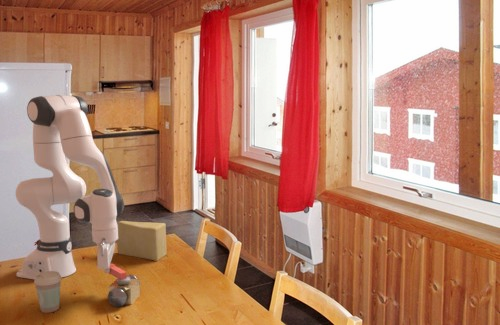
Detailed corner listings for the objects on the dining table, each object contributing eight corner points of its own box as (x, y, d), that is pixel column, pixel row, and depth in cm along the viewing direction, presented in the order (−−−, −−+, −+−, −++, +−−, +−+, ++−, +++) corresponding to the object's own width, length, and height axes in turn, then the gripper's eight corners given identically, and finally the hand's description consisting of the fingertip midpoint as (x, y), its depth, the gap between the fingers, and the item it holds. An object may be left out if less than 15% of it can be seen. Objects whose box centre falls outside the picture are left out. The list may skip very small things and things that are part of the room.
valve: (106, 306, 170) (105, 288, 169) (121, 290, 183) (120, 274, 182) (128, 308, 169) (127, 289, 168) (142, 292, 182) (141, 275, 181)
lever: (132, 282, 175) (132, 272, 174) (121, 285, 172) (120, 275, 171) (115, 272, 184) (114, 262, 184) (103, 275, 181) (103, 265, 181)
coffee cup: (41, 303, 172) (38, 270, 171) (66, 302, 173) (64, 269, 171) (32, 315, 164) (29, 280, 162) (59, 314, 165) (56, 279, 163)
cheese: (111, 256, 219) (110, 223, 217) (124, 249, 229) (122, 218, 226) (157, 262, 213) (155, 228, 210) (167, 254, 222) (166, 221, 220)
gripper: (111, 243, 167) (113, 282, 169) (117, 226, 187) (119, 262, 189) (91, 244, 166) (94, 284, 168) (99, 227, 186) (102, 263, 188)
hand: (107, 272), depth 179 cm, fingers closed
